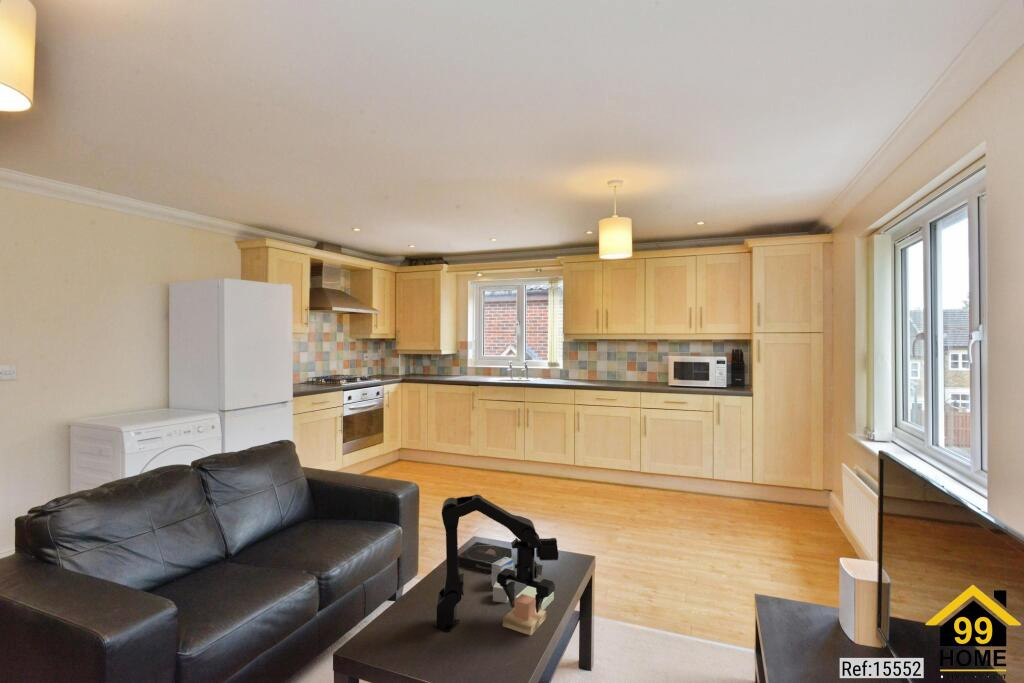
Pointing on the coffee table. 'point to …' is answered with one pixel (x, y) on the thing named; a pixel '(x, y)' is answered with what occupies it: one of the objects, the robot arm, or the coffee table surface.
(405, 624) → the coffee table surface
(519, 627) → the oak slab
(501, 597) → the grey block
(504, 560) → the medicine box
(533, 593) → the green slab
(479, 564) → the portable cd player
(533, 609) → the terracotta block
